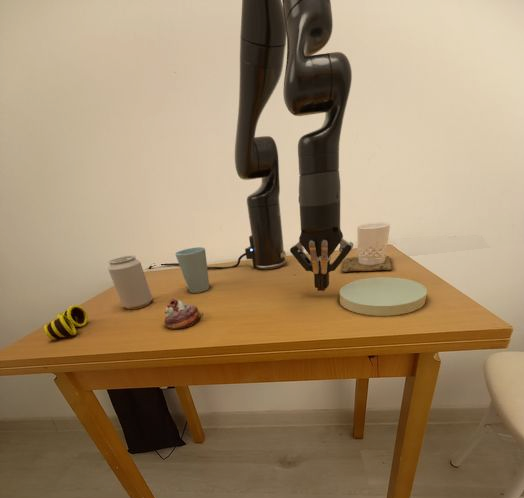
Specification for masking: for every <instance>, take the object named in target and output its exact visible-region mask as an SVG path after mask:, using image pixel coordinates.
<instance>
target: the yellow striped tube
mask: <svg viewBox="0 0 524 498" xmlns="http://www.w3.org/2000/svg"><path fill="white" fill-rule="evenodd" d="M88 320H89V315H88V313H87V311H86V310H85V308H84V307H82V306H80V305H78V304H77V305H76V304H73V305H70V306H69V307H68V308H67V309H65V310H64V311H63V312H61V313H58V314H57V316H56V318H55V319H53V320H52V321H51V322H49V323H48V324H45V325H44V326H43V330H44V333H45V334H46V336H47V337H48V338H49V339H51V340H53V341H55V340H58V339H60V338H67V336H76V335H77V329H76V327H78V328H82V327H84V326H85V325H87V323H88Z"/></svg>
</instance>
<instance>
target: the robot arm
mask: <svg viewBox="0 0 524 498" xmlns="http://www.w3.org/2000/svg"><path fill="white" fill-rule="evenodd" d="M240 17H241V19H240V35H239V86H238V87H239V88H238V89H239V91H238V110H237V111H238V112H237V121H236V131H235V139H234V140H235V142H234V166H235V171H236V173H237V176H238V178H239V179H240V180H243V181H250V180H258V179H261V183H260V185H259V187H258V188H257V189H256V190H254V191H253V192H252V193H251V194H249V195H247V197H246V207H247V213H248V220H249V226H250V227H249V228H250V234H251V235H249V237H248V240H249V246H248V247H246V248H244V252H243V254H241V255H240V256H239V257H238V259H237V262H236V263H235V264H234V265H231V266H207V270H226V269H233V268H236V267H238V266H239V265H240V263H241V260H242V259H243V258H244V257H245V258H246V260H251V261H252V267H253V269H257V270H264V271H265V270H274V269H278V268H281V267H283V266H285V265H286V250H285V248H284V247H285V246H284V237H283V236H284V235H283V225H282V224H283V223H282V213H281V204H280V193H281V185H280V163H279V162H280V160H279V159H280V158H279V151H278V145H277V143H276V141H275V139H274V138H273V137H272V136H271V135H262V136H256V132H257V127H258V123H259V121H260V118H261V116H262V113H263V111H264V109H265V108H266V106H267V104H268V102H269V101H270V99H271V97H272V95H273V94H274V92H275V90H276V89H277V87H278V84H279V83H280V80H281V77H282V74H283V71H285V72H284V77H283V78H284V80H283V91H282V92H283V101H284V104H285V107H286V109H287V110H288V112H289V113H290V114H292V115H293V116H295V117H304V116H305V117H306V116H310V115H311V116H312V115H318V114H325V116H324V121H323V123H322V125H321V127H319V128H317V129H315V130H313V131H311V132H308V133H306V134H303V135H302V136H301V137H300V138H299V139H298V142H297V156H298V158H297V159H298V175H299V176H298V177H299V179H298V181H299V182H298V203H299V219H300V235H299V238H298V242H297V243H296V244H294V245H292V246H291V247H290V249H289V252H290V253H291V255H292V256H293V258H295V260H296V261H297V262H298V263H299V264H300V265H301V267H302V268H303V269H304V271H305V272H311V273H312V274H313V280H314V283H313V284H314V288H315V289H317V291H318V292H325V291H326V289H328V288H329V285H330V273H331V272H334V271H336V269H338V267H339V266H340V265H341V263H342V262H344V260H345V258H347V256H348V255H349V253H350V252H351V251H352V249H353V248H354V243H353V242H351V241H350V242H349V241H347V240H346V239H345V238H344V234H343V232H342V229H341V177H340V143H341V134H342V128H343V123H344V118H345V114H346V109H347V104H348V101H349V97H350V93H351V88H352V81H353V72H352V66H351V62H350V60H349V58H348V56H347V55H346V54H345V53H343V52H341V51H333V52H332V51H331V52H326V53H319V52H320V51H321V50H323V49H324V48H325V47H326V46H327V45H328V43H329V41H330V39H331V37H332V33H333V28H334V27H333V26H334V24H333V21H334V20H333V11H332V2H331V0H242V1H241V16H240ZM318 53H319V54H318ZM285 54H286V62H285ZM284 62H285V63H286V64H285V70H283V68H284ZM338 246H339V248H338V251H339V252H340V253H339V254H338V256H337V257H336V258H335V259H334V261H333V262H332V263H331V257H332V254H333V253H334V252H335V250H336V249H337V247H338ZM304 251H306V253H307V254H308V255H309V256H310V258H309V257H308V255H307V254H306V253H305V252H304ZM155 266H156V265H154V266H151V265H149V267H148V270H151V269H152V268H153V267H155ZM160 266H180V265H179V262H172V263H171V262H170V263H165V264H161V265H160Z"/></svg>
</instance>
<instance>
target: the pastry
mask: <svg viewBox="0 0 524 498" xmlns="http://www.w3.org/2000/svg"><path fill="white" fill-rule="evenodd" d="M164 314H165V318H164V325H165V327H166V328H168V329H171V330H173V329H174V330H175V329H177V330H178V329H184V328H188V327H191V326H192V325H194V324H195V323H197V321H198V320H199V319H200V317H201V313H200V311H199V309H198V307H197V306H195V305H194V304H185V302H184V301H182V300H177V299H176V298H171V299H170V301H169V303H168V304H167V306H166V308H165V312H164Z"/></svg>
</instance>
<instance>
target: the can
mask: <svg viewBox="0 0 524 498" xmlns="http://www.w3.org/2000/svg"><path fill="white" fill-rule="evenodd" d="M136 257H137V256H136V255H132V254H131V255H124V256H119V257H115V258H112V259H110V260H109V261H108V264H109V265H108V268H107V270H108V272H109V275H110V278H111V280H112V282H113V286H114V288H115V290H116V292H117V296H118V298H119V300H120V304H121V306H122V307H123V308H125V309H127V310H138V309H141V308H144V307H147V306H148V305H150V304H151V301H152V300H153V295H152V292H151V290H150V287H149V283H148V281H147V278H146V275H145V272H144V269H143V266H142V263H141V261H140V260H139V259H137V258H136Z"/></svg>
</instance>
